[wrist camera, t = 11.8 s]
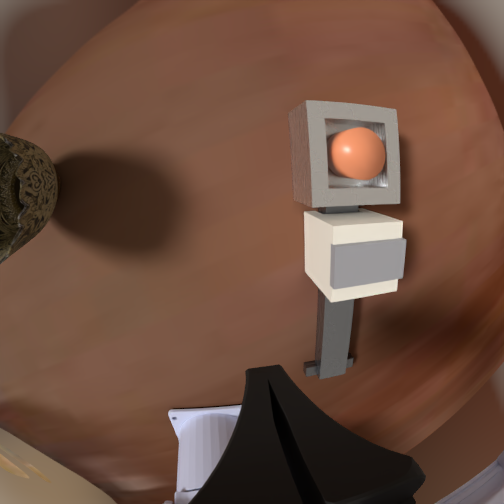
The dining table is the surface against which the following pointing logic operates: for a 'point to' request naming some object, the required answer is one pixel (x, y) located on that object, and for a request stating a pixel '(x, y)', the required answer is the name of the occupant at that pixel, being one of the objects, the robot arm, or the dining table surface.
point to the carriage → (353, 253)
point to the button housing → (315, 154)
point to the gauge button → (356, 154)
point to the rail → (332, 327)
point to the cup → (24, 192)
